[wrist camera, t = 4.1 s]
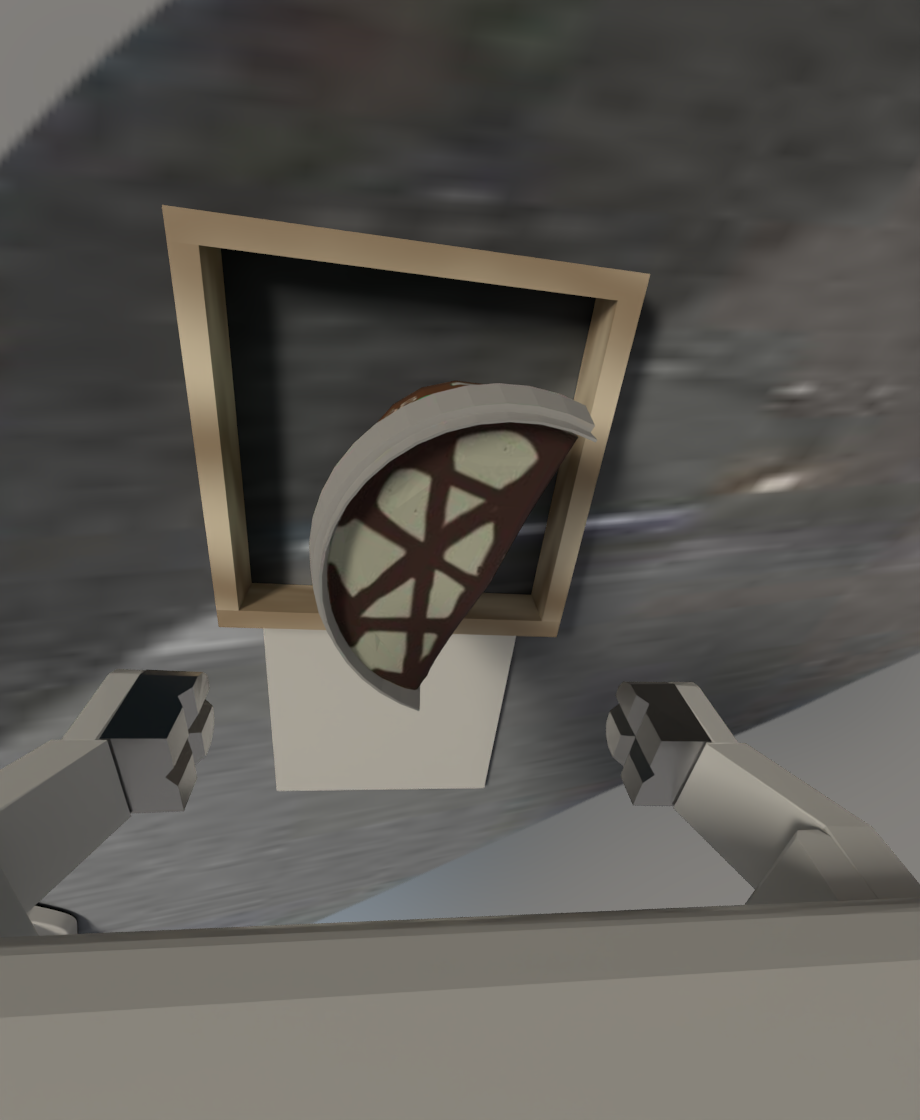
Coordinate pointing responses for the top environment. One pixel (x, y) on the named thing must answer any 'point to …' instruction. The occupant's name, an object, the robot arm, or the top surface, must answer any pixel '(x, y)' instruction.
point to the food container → (430, 519)
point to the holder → (207, 232)
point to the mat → (382, 716)
